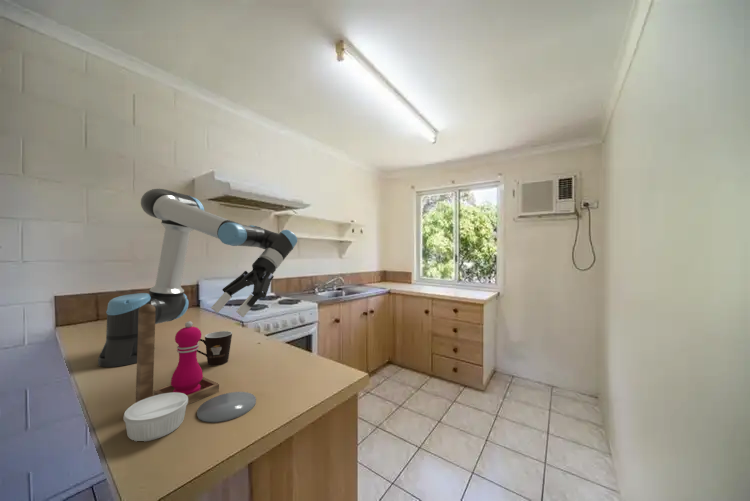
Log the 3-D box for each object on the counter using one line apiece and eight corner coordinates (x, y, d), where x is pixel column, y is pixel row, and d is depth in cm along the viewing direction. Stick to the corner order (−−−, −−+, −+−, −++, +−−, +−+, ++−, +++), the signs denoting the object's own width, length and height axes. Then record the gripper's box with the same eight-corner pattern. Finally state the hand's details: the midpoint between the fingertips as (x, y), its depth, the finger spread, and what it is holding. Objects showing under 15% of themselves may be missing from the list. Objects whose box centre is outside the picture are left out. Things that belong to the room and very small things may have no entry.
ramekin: (153, 449, 53) (154, 422, 53) (107, 442, 55) (108, 416, 55) (199, 417, 64) (200, 394, 64) (159, 411, 66) (160, 390, 66)
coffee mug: (236, 358, 101) (237, 331, 101) (221, 367, 92) (222, 338, 93) (207, 357, 102) (208, 330, 102) (189, 366, 94) (190, 337, 94)
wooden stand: (198, 381, 82) (200, 295, 83) (219, 391, 76) (222, 298, 77) (121, 409, 67) (125, 303, 67) (141, 424, 61) (144, 307, 62)
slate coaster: (205, 397, 72) (206, 395, 72) (258, 391, 76) (258, 388, 76) (188, 426, 60) (188, 424, 60) (252, 416, 64) (252, 414, 64)
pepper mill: (167, 404, 69) (170, 325, 70) (173, 391, 76) (175, 320, 76) (200, 397, 73) (202, 322, 73) (203, 386, 79) (205, 317, 80)
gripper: (297, 271, 94) (259, 323, 80) (252, 270, 106) (212, 315, 93) (285, 255, 89) (243, 308, 76) (239, 256, 102) (196, 302, 88)
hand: (226, 312), depth 84 cm, fingers open, 13 cm apart
